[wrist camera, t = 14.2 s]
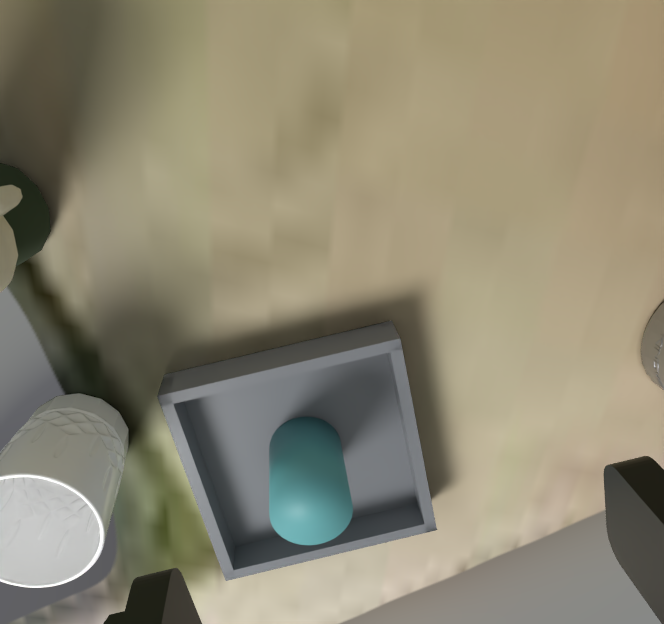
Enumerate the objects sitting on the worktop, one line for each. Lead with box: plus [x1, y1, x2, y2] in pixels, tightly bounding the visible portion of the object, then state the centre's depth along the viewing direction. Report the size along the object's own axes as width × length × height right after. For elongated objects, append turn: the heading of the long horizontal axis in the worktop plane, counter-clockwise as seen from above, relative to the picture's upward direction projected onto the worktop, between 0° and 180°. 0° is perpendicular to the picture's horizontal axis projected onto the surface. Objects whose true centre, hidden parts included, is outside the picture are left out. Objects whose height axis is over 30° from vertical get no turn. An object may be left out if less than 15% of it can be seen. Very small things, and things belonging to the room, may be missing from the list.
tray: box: [157, 321, 437, 581], centre depth 44 cm, size 16×16×3 cm
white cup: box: [0, 393, 129, 588], centre depth 39 cm, size 8×8×10 cm
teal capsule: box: [269, 417, 353, 545], centre depth 42 cm, size 5×5×7 cm
